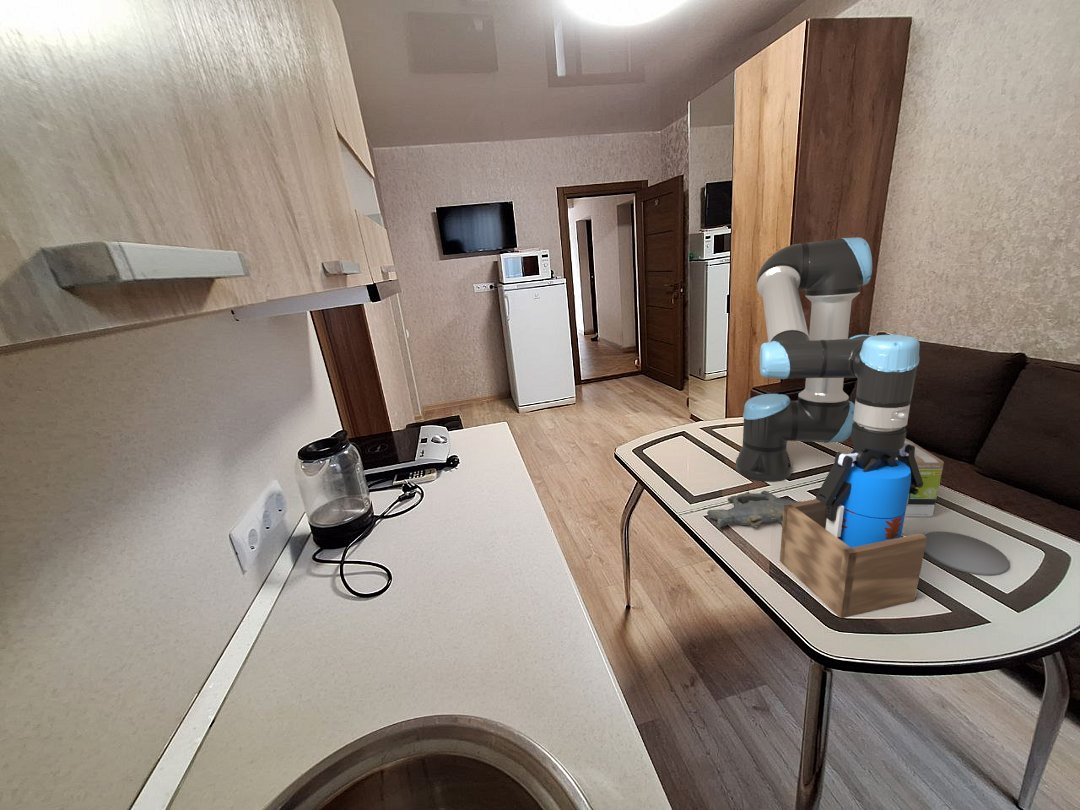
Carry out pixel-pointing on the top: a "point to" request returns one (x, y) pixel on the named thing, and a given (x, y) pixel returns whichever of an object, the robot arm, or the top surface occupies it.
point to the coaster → (965, 553)
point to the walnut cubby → (848, 563)
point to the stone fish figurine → (752, 510)
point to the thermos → (875, 504)
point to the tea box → (925, 483)
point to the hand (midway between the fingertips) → (864, 526)
